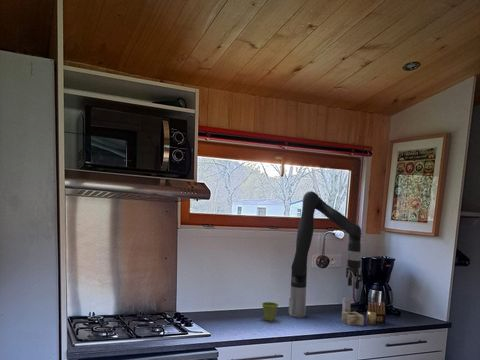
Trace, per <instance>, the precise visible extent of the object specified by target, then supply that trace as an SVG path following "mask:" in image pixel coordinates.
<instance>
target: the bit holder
mask: <svg viewBox="0 0 480 360" xmlns="http://www.w3.org/2000/svg"><path fill="white" fill-rule="evenodd" d="M341 321H342V322H343V323H344V324H346V325H348V326H364V325H365V315H362V314H361V313H359V312H357V311H350V312H342V311H341Z"/></svg>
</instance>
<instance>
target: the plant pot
mask: <svg viewBox="0 0 480 360" xmlns="http://www.w3.org/2000/svg"><path fill="white" fill-rule="evenodd" d="M261 305H262V309H263V310H262V311H263V319H264V320H265V321H269V322H273V321H275V320H276V315H277V309H278V306H279V304H278V303H277V302H273V301H272V302H270V301H266V302H265V301H264V302H262V303H261Z"/></svg>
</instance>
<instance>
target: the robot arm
mask: <svg viewBox="0 0 480 360" xmlns="http://www.w3.org/2000/svg"><path fill="white" fill-rule="evenodd" d="M315 211H319V212H320V213H321V214H322V215H324V216H325V217H326V218H327V219H328V220H330V221H331V223H334V225H336V226H338V227H339V228H340V229H342V230H343V231H344V232H346V233H347V235H348V245H347V259H346V260H347V263H346V265H347V266H346V268H345V270H346V271H345V278H347V286H349V287H352V286H353V280H354V289H356V290H359V289H360V283H361V282H362V281H363V280H362V279H363V278H362V275H363V273H362V270H359V269H360V268H361V266H362V265H361V262H362V253H361V251H362V249H361V237H362V228H361V226H359V225H357V224H356V223H354V222H353V221H351V220H350V219H349V218H348V217H346V216H345V215H344V214H343V213H342V212H340V211H338V210H336V209H335V208H333V207H332V206H330V205H329V204H327V202H325V201H324V200H323V199H322V198H321V197H320V196H319V195H318V193H316V192H315V191H310V190H309V191H307V192H305V194H303V197H302V209H301V216H300V219H299V223H298V227H297V233H296V243H295V253H294V257H293V262H292V264H291V276H290V297H289V299H288V300H289V302H288V314H289V315H290V317H292V318H293V317H294V318H304V317H306V306H307V305H306V304H307V303H306V301H307V278H308V277H307V275H308V273H307V272H308V254H309V250H310V248H311V244H312V240H313V235H314V226H315V223H314V222H315V220H314V217H315Z"/></svg>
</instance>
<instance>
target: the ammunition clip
mask: <svg viewBox="0 0 480 360" xmlns="http://www.w3.org/2000/svg"><path fill="white" fill-rule="evenodd" d="M385 306H386V304H385V302H384V301H383V302H382V301H380V303H379V301H377V302H376V301H374V302H373V301H372V302H370V301H368V305H367V311H374V312H376V324H387V323H386V320H387V319H386V307H385Z"/></svg>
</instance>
